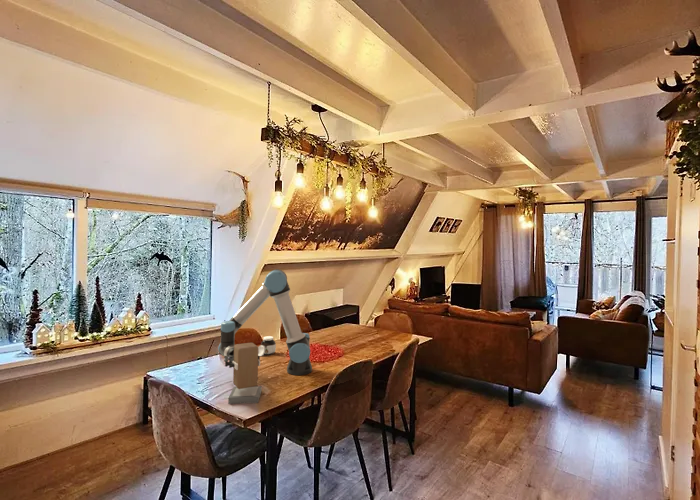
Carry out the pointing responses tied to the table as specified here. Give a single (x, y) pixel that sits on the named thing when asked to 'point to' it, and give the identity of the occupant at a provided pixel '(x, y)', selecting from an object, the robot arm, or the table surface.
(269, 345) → the spread jar
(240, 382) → the wooden block
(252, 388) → the slate base
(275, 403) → the table surface
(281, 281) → the robot arm
